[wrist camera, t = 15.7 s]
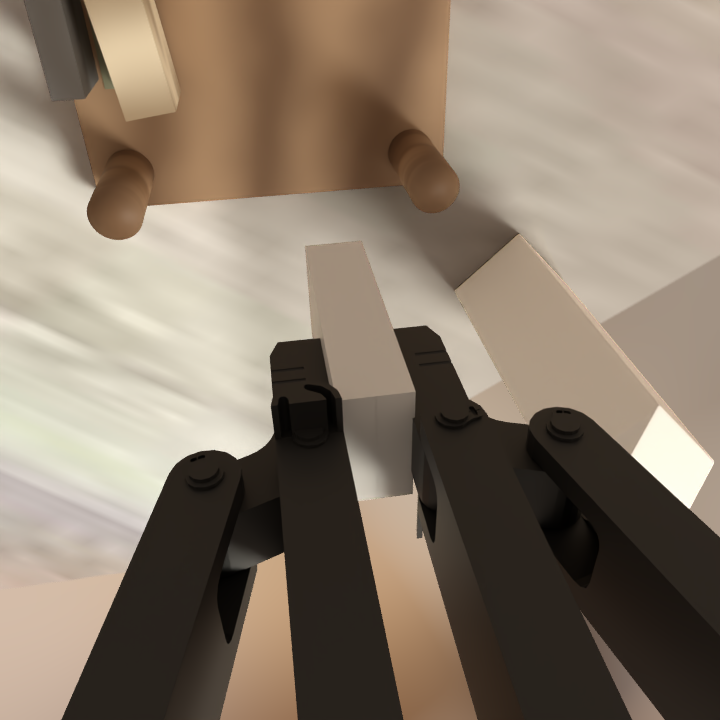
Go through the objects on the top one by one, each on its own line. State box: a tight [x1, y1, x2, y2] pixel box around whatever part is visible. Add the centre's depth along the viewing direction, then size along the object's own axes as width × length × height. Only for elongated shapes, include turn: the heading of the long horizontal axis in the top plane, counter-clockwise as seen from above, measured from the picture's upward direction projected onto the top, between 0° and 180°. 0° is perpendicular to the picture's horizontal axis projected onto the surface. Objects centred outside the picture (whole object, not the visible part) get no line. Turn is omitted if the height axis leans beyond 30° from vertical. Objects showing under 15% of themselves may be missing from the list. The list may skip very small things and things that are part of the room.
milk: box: [455, 234, 714, 509], centre depth 40 cm, size 6×6×22 cm
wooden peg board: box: [24, 0, 459, 240], centre depth 32 cm, size 20×20×8 cm
